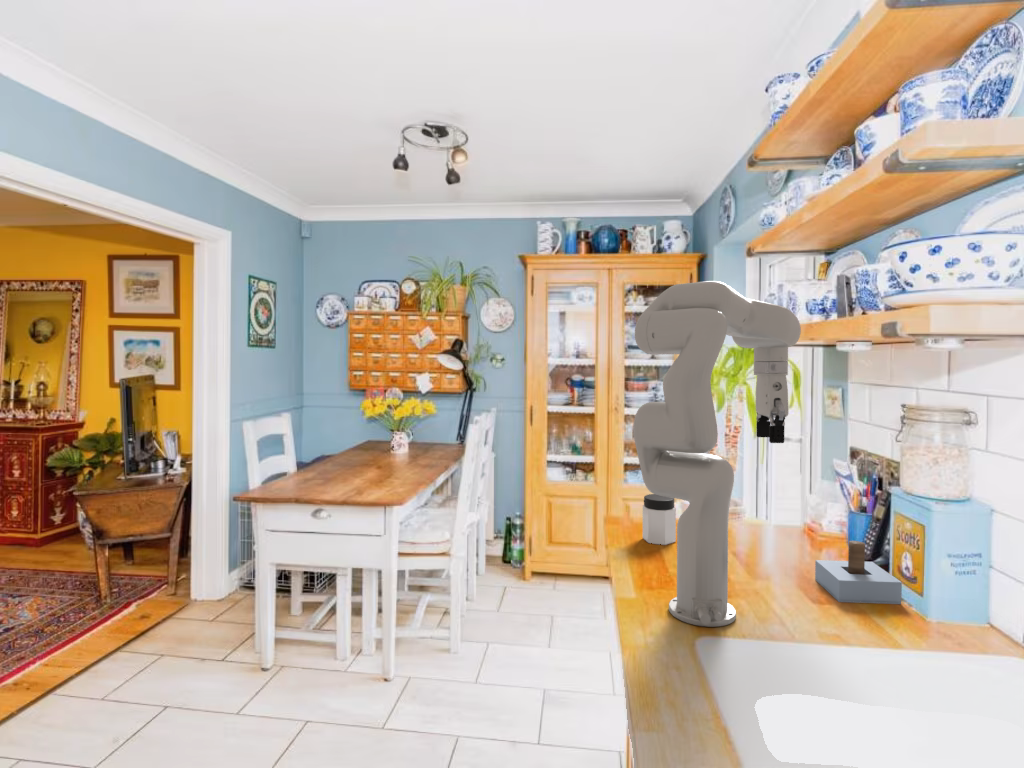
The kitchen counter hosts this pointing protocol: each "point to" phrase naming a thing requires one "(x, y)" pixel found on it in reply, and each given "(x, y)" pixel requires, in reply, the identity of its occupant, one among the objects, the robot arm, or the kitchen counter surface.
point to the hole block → (858, 583)
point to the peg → (856, 557)
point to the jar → (659, 519)
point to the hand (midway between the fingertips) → (769, 439)
